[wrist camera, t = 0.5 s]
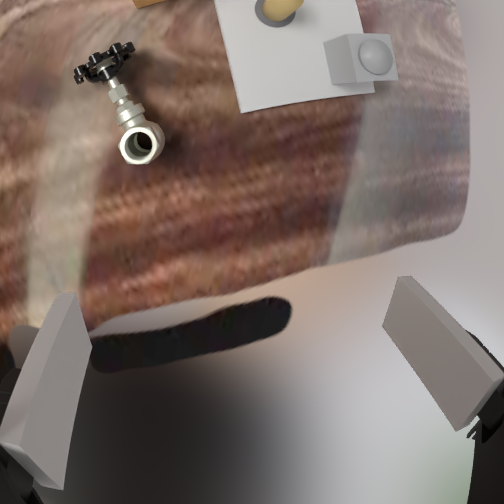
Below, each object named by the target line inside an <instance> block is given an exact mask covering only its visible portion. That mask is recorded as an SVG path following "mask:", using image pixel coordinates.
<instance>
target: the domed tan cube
mask: <svg viewBox="0 0 504 504" xmlns="http://www.w3.org/2000/svg"><path fill="white" fill-rule="evenodd" d="M162 1H166V0H133V2H134V4H135V6H136V7H137V9H138V8H141V7H144V6H148V5H151V4H155V3H158V2H162Z"/></svg>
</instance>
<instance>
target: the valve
mask: <svg viewBox="0 0 504 504" xmlns="http://www.w3.org/2000/svg"><path fill="white" fill-rule="evenodd" d="M134 51H135V48H134V46H133V44H132V42H128V43H126V44H124V45H123V46H122V45H121V43H115V44H113V45H112V46H111V47H110V48H109V50H108V51H106V52H104V53H102V54H100V53H99V52H97V53H94V54H92V55H91V56H90V57H89V61H90V62H88V63H87V64H85V65H80V66H78V67H77V68H75V69H74V73H75V76H74V79H75V81H76V83H77V84H81V83H83V82H84V80H83V77H86V79H87V80H88V81H89V82H91V83H98V82H100V81H101V82H102V84H107V83H108V84H109V86H110V88H111V90H110V91H109V92H108V94H109V96H110V98H111V100H112V102H113V103H117V104H118V106H119V107H118V108H117V112H118V115H117V116H115V117H114V119H115V121H116V123H117V125H118V126H122V127H123V129H124V131H125V134H124V136H123V138H122V139H121V141H120V143H119V145H118V147H119V149H120V151H121V153H122V155H123V157H124V158H125V160H126V162H127V163H128V164H149V162H150V161H152V160H154V159H155V158H157V157H158V156H159V155H160V153H161V152H162V150H163V148H164V144H165V137H164V133H163V131H162V129H161V128H160V127H159V125H158V123H154V122H151V121H147V120H146V119H145V117H144V115H143V113H144V112H145V110H144V108H143V106H142V104H141V103H138V104H136V105H135V104H134V102H133V101H132V100H131V101H129V99H128V96H129V95H130V94H129V92H128V90H127V88H126V86H125V84H120V83H119V81H118V79H117V78H118V77H119V76H120V75H121V74H120V72H119V70H120V69H121V68H122V66H123V60H124V61H126V60H128V59H130V58H131V57H132V56H131V54H130V53H132V52H134ZM113 56H114V57H113ZM111 57H113V58H112V59H111ZM115 63H116V64H115ZM94 66H96V67H95V68H93V67H94ZM139 132H143V133H145V134H147V135H148V136H149V137H150V139H151V141H152V149H150V150H145V149H142V148H141V147H140V146H139V145H138V143H137V135H138V133H139Z"/></svg>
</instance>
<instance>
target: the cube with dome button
mask: <svg viewBox="0 0 504 504" xmlns="http://www.w3.org/2000/svg"><path fill="white" fill-rule="evenodd" d="M323 45H324V50H325V54H326V59H327V64H328V69H329V74H330V79H331V84H342V83H357V82H370V81H387V80H399V79H398V73H397V67H396V61H395V56H394V51H393V46H392V41H391V36H390V34H369V33H356V34H345V35H342V36H339V37H337V38H334V39H331V40H329V41H326V42H324V43H323Z"/></svg>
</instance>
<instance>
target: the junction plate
mask: <svg viewBox="0 0 504 504" xmlns="http://www.w3.org/2000/svg"><path fill="white" fill-rule="evenodd" d="M213 1H214V5H215V9H216V13H217V17H218V21H219V25H220V29H221V33H222V37H223V41H224V45H225V50H226V54H227V58H228V62H229V66H230V70H231V75H232V79H233V83H234V87H235V92H236V96H237V100H238V105H239V109H240V113H245V112H249V111H254V110H259V109H264V108H269V107H274V106H279V105H285V104H291V103H297V102H303V101H309V100H316V99H323V98H330V97H338V96H346V95H355V94H365V93H375V90H374V83H373V81H370V82H357V83H342V84H331V79H330V74H329V69H328V64H327V59H326V54H325V50H324V45H323V43H324V42H326V41H329V40H331V39H334V38H337V37H339V36H342V35H345V34H356V33H363V28H362V24H361V20H360V16H359V12H358V8H357V5H356V1H355V0H213Z"/></svg>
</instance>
